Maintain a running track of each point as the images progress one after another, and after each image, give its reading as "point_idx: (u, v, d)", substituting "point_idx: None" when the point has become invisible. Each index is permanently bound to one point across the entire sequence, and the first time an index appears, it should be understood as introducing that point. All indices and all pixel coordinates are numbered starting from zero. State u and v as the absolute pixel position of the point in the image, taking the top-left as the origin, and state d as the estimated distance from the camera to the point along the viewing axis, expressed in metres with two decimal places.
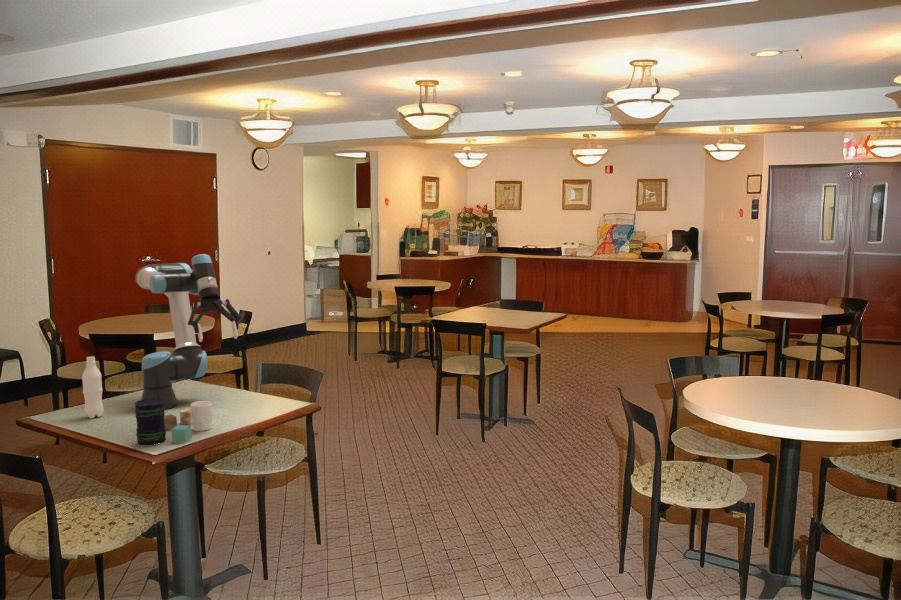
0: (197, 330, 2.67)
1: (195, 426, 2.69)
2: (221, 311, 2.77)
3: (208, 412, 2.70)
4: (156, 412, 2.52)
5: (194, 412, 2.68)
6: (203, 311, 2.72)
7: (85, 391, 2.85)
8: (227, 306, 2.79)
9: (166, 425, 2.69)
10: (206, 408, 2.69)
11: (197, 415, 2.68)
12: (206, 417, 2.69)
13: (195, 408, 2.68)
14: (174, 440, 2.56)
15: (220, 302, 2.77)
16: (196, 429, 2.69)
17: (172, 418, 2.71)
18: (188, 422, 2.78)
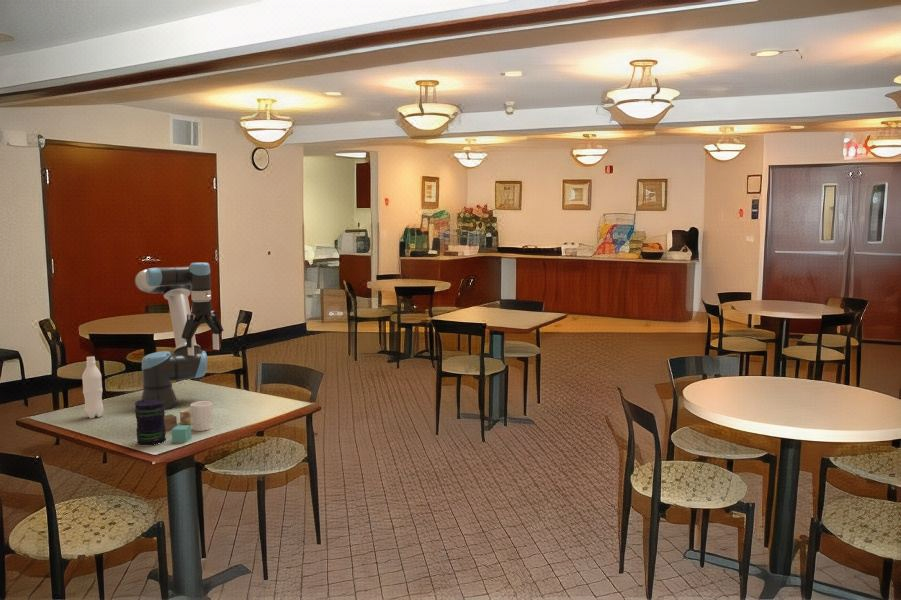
0: (190, 346, 2.79)
1: (195, 426, 2.69)
2: (208, 323, 2.89)
3: (208, 412, 2.70)
4: (156, 412, 2.52)
5: (194, 412, 2.68)
6: (197, 325, 2.82)
7: (85, 391, 2.85)
8: (213, 317, 2.91)
9: (166, 425, 2.69)
10: (206, 408, 2.69)
11: (197, 415, 2.68)
12: (206, 417, 2.69)
13: (195, 408, 2.68)
14: (174, 440, 2.56)
15: (210, 314, 2.88)
16: (196, 429, 2.69)
17: (172, 418, 2.71)
18: (188, 422, 2.78)
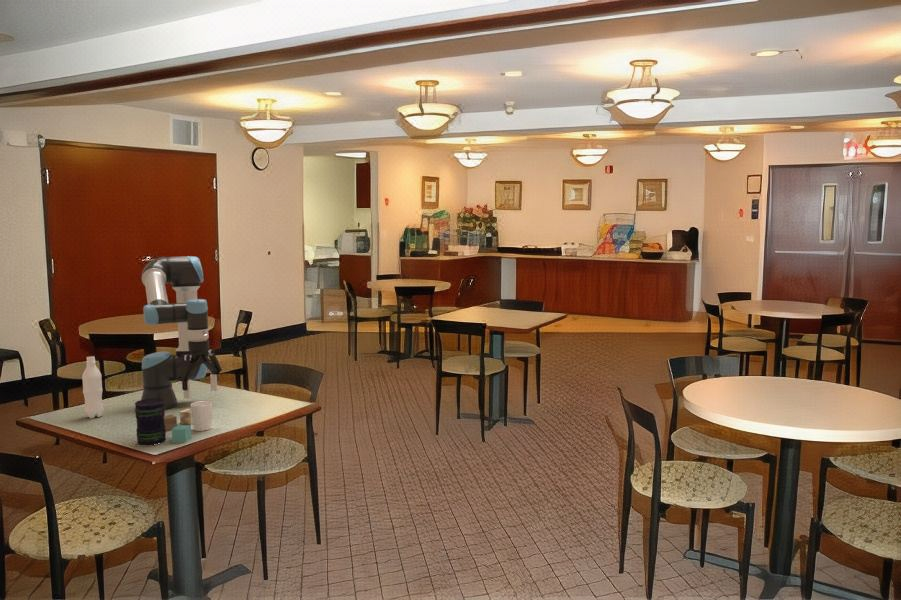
0: (186, 388, 2.63)
1: (195, 426, 2.69)
2: (206, 363, 2.72)
3: (208, 412, 2.70)
4: (156, 412, 2.52)
5: (194, 412, 2.68)
6: (193, 367, 2.65)
7: (85, 391, 2.85)
8: (211, 357, 2.75)
9: (166, 425, 2.69)
10: (206, 408, 2.69)
11: (197, 415, 2.68)
12: (206, 417, 2.69)
13: (195, 408, 2.68)
14: (174, 440, 2.56)
15: (207, 354, 2.72)
16: (196, 429, 2.69)
17: (172, 418, 2.71)
18: (188, 422, 2.78)
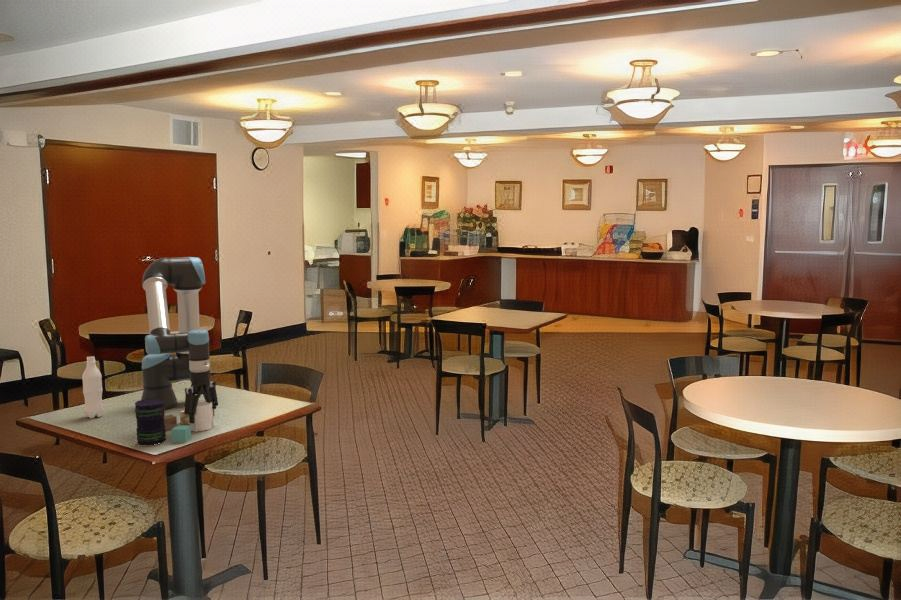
0: (193, 421, 2.67)
1: None
2: (205, 394, 2.73)
3: (208, 412, 2.70)
4: (156, 412, 2.52)
5: None
6: (197, 398, 2.68)
7: (85, 391, 2.85)
8: (211, 388, 2.75)
9: (166, 425, 2.69)
10: (206, 408, 2.69)
11: (197, 415, 2.68)
12: (206, 417, 2.69)
13: None
14: (174, 440, 2.56)
15: (209, 384, 2.73)
16: None
17: (172, 418, 2.71)
18: (188, 422, 2.78)
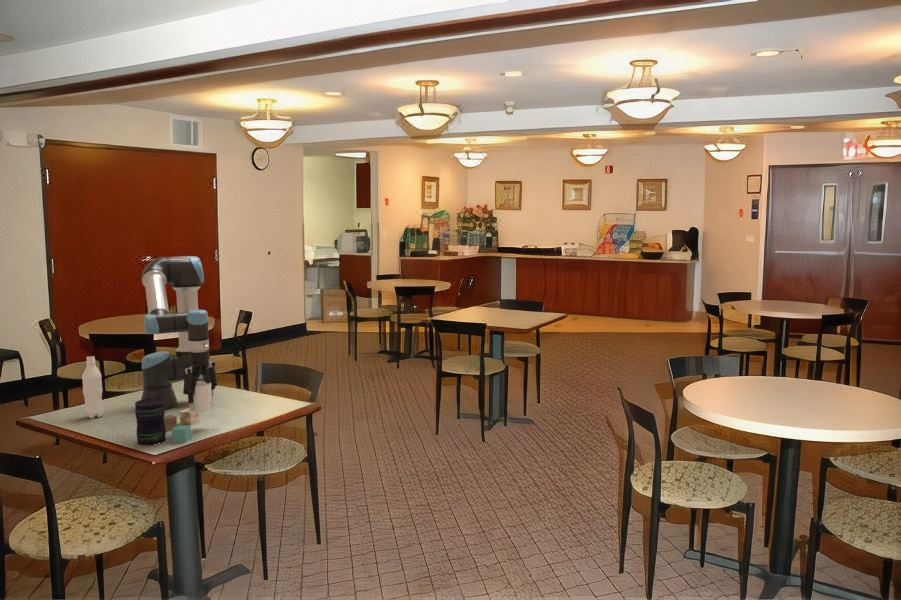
0: (192, 402, 2.67)
1: None
2: (204, 375, 2.72)
3: (207, 393, 2.69)
4: (156, 412, 2.52)
5: None
6: (196, 378, 2.67)
7: (85, 391, 2.85)
8: (210, 369, 2.75)
9: (166, 425, 2.69)
10: (205, 389, 2.68)
11: (196, 395, 2.68)
12: (205, 397, 2.69)
13: None
14: (174, 440, 2.56)
15: (208, 364, 2.72)
16: None
17: (172, 418, 2.71)
18: (188, 422, 2.78)
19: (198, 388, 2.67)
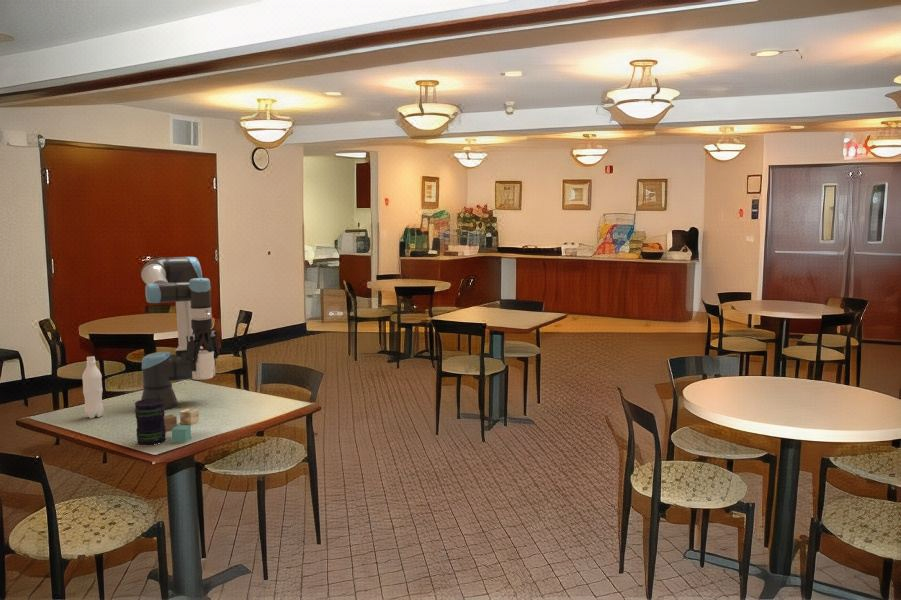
0: (195, 369, 2.67)
1: None
2: (207, 343, 2.72)
3: (209, 361, 2.69)
4: (156, 412, 2.52)
5: None
6: (199, 346, 2.67)
7: (85, 391, 2.85)
8: (213, 338, 2.75)
9: (166, 425, 2.69)
10: (208, 357, 2.68)
11: (199, 363, 2.68)
12: (208, 365, 2.69)
13: None
14: (174, 440, 2.56)
15: (210, 333, 2.73)
16: None
17: (172, 418, 2.71)
18: (188, 422, 2.78)
19: (201, 356, 2.67)
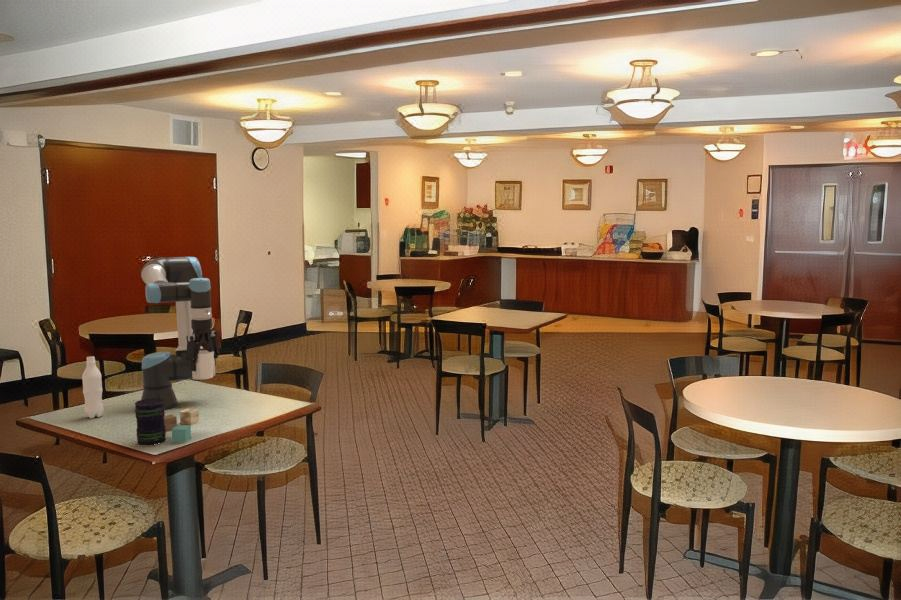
0: (195, 369, 2.67)
1: None
2: (207, 343, 2.72)
3: (209, 361, 2.69)
4: (156, 412, 2.52)
5: None
6: (199, 346, 2.67)
7: (85, 391, 2.85)
8: (213, 338, 2.75)
9: (166, 425, 2.69)
10: (208, 356, 2.68)
11: (199, 363, 2.68)
12: (208, 365, 2.69)
13: None
14: (174, 440, 2.56)
15: (210, 333, 2.73)
16: None
17: (172, 418, 2.71)
18: (188, 422, 2.78)
19: (201, 356, 2.67)
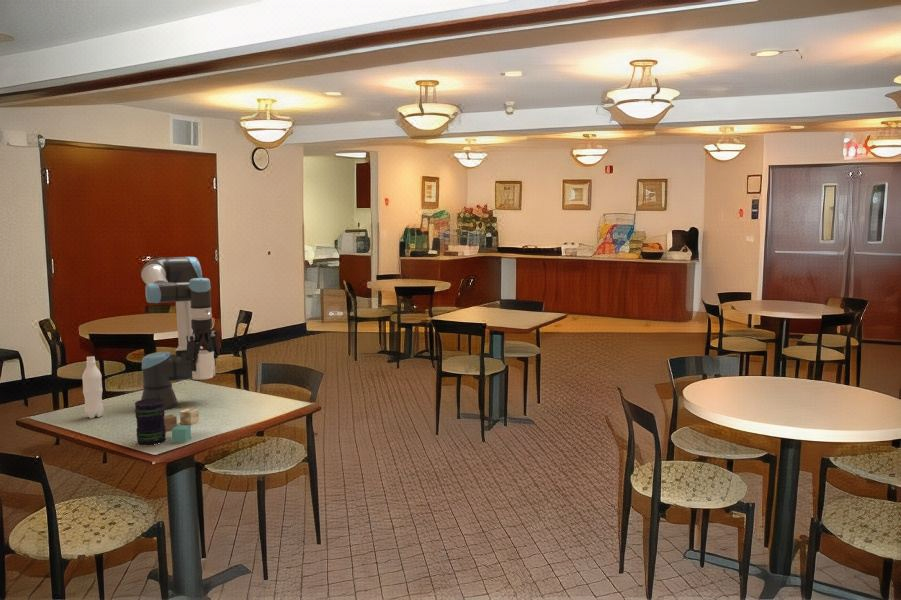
0: (195, 369, 2.67)
1: None
2: (207, 343, 2.72)
3: (209, 361, 2.69)
4: (156, 412, 2.52)
5: None
6: (199, 346, 2.67)
7: (85, 391, 2.85)
8: (213, 338, 2.75)
9: (166, 425, 2.69)
10: (208, 356, 2.68)
11: (199, 363, 2.68)
12: (208, 365, 2.69)
13: None
14: (174, 440, 2.56)
15: (210, 333, 2.73)
16: None
17: (172, 418, 2.71)
18: (188, 422, 2.78)
19: (201, 356, 2.67)
